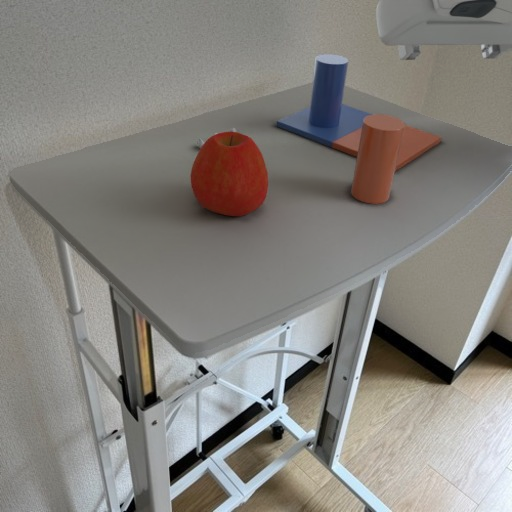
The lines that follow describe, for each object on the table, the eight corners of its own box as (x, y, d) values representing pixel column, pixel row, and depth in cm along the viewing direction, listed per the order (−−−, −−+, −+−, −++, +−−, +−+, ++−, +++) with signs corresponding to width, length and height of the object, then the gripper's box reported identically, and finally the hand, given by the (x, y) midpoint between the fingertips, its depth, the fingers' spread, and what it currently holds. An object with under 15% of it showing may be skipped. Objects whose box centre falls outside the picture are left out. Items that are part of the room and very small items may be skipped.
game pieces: (200, 151, 88) (200, 140, 87) (193, 147, 89) (193, 136, 88) (240, 140, 92) (240, 129, 91) (232, 136, 94) (233, 125, 93)
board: (440, 142, 96) (441, 137, 95) (394, 171, 86) (396, 166, 85) (327, 104, 108) (328, 99, 108) (276, 126, 98) (276, 120, 98)
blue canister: (345, 122, 99) (354, 59, 92) (327, 130, 95) (336, 66, 89) (320, 113, 101) (327, 52, 95) (302, 121, 98) (308, 58, 91)
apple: (187, 224, 71) (185, 149, 65) (195, 185, 79) (194, 115, 73) (266, 228, 71) (272, 153, 65) (266, 189, 79) (271, 120, 73)
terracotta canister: (396, 194, 80) (412, 122, 74) (376, 208, 77) (391, 134, 70) (363, 181, 83) (377, 111, 76) (343, 193, 79) (355, 121, 73)
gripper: (639, -65, 46) (530, 24, 60) (414, -73, 42) (352, 24, 56) (653, 5, 45) (539, 79, 59) (425, 4, 42) (359, 83, 55)
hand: (447, 52), depth 57 cm, fingers open, 8 cm apart
